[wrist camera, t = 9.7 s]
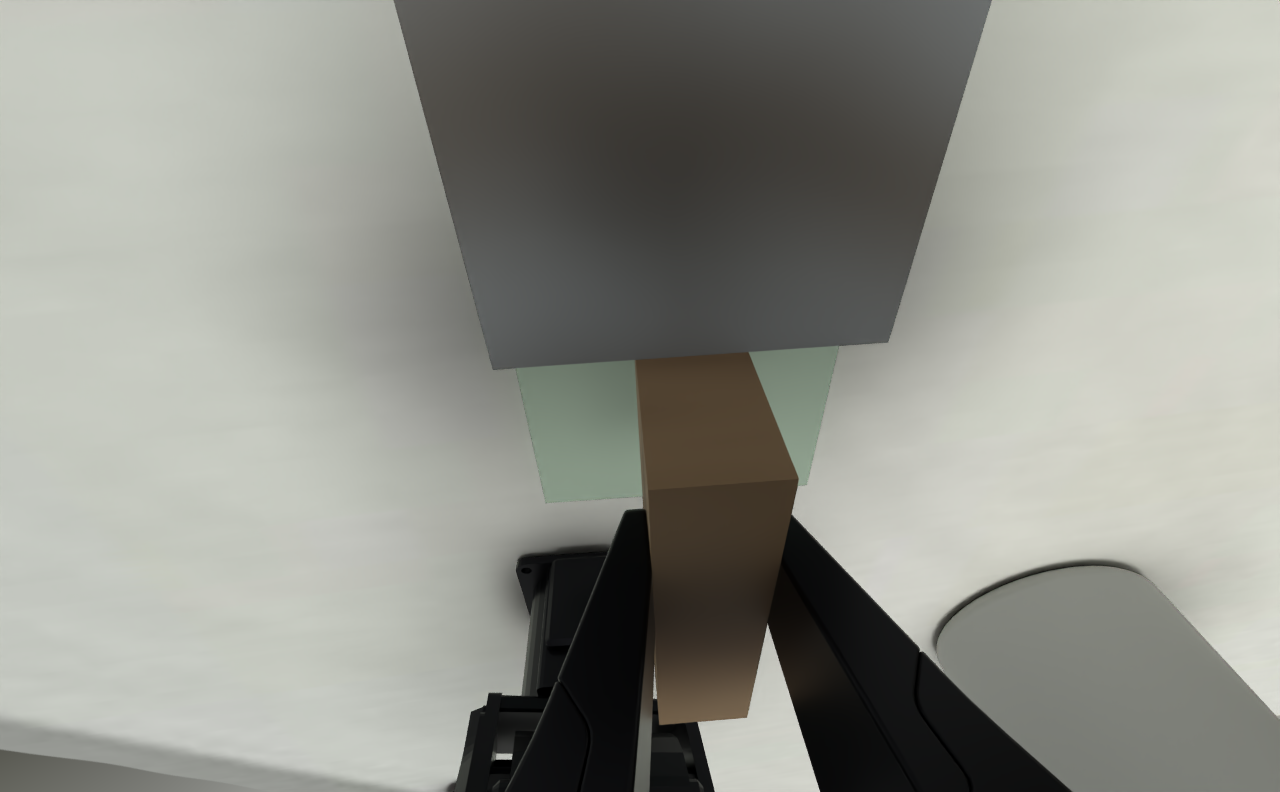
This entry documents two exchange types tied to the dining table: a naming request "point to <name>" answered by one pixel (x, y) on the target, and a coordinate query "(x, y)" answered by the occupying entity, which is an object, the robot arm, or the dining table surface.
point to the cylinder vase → (1110, 686)
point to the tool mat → (608, 419)
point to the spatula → (692, 240)
